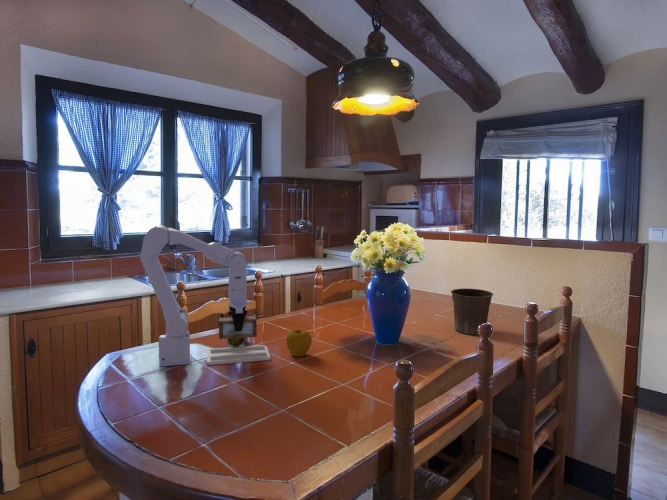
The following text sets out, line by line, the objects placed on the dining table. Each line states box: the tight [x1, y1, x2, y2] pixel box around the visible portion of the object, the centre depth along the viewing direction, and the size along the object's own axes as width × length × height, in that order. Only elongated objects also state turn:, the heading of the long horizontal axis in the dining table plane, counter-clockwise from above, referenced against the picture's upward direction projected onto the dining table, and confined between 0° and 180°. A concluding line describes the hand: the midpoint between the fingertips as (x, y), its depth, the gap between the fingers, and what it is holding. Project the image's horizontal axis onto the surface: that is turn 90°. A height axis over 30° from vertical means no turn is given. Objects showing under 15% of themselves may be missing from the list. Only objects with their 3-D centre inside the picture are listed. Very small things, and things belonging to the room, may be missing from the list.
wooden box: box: [218, 315, 258, 340], centre depth 148 cm, size 12×4×6 cm, turn 106°
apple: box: [285, 328, 313, 358], centre depth 151 cm, size 8×8×9 cm
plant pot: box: [450, 288, 494, 336], centre depth 181 cm, size 16×16×16 cm
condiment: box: [226, 337, 249, 347], centre depth 158 cm, size 7×8×12 cm
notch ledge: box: [206, 344, 271, 366], centre depth 149 cm, size 20×11×2 cm, turn 105°
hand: (238, 329), depth 148 cm, fingers closed on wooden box, 4 cm apart
